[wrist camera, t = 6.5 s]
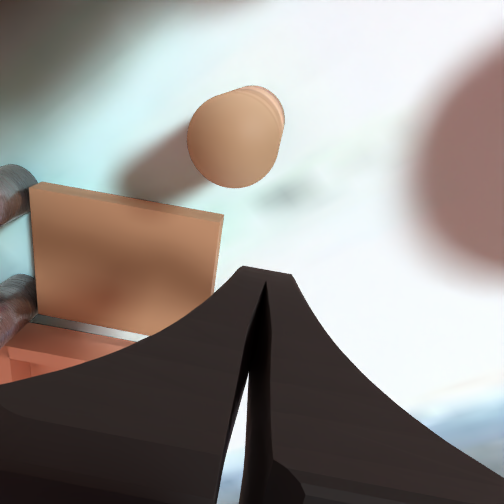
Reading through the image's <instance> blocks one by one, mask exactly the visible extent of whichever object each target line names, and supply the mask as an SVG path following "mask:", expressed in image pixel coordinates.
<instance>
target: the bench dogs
mask: <svg viewBox="0 0 504 504" xmlns="http://www.w3.org/2000/svg"><path fill="white" fill-rule="evenodd" d="M36 184H38V182H37V180H36V179H35V177H34V176H33V175H32V174H31V173H30V172H29V171H28V170H26V169H25V168H23V167H21V166H18V165H13V164H8V165H4V166H1V167H0V227H1V226H3V225H4V224H6V223H8V222H10V221H12V220H14V219H16V218H18V217H20V216H21V215H23V214H25V213H27V212H29V211H31V210H30V196H29V187H31V186H33V185H36ZM37 314H38V304H37V291H36V279H35V278H33V277H31V276H29V275H25V274H17V275H14V276H12V277H10V278H9V279H7V280H6V281H5V282H3V283H2V284H0V349H1V348H2V347H3V346H4V345H5V344H6V343H7V342H8V341H9V340H11V339H12V338H13V337H14V336H15V335H16V334H17V333H18V332H19V331H20V330H21V329H22V328H23V327H24V326H25V325H26V324H28V323H29V322H30V321H31V320H32V319H33V318H34V317H35V316H36V315H37Z"/></svg>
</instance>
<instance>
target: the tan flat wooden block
mask: <svg viewBox="0 0 504 504" xmlns="http://www.w3.org/2000/svg"><path fill="white" fill-rule="evenodd" d="M29 196H30V210H31V223H32V237H33V250H34V264H35V277H36V291H37V304H38V314H41V315H46V316H51V317H56V318H61V319H67V320H72V321H77V322H82V323H87V324H92V325H97V326H103V327H108V328H113V329H118V330H123V331H128V332H134V333H139V334H144V335H149V336H151V335H154V334H156V333H158V332H160V331H161V330H163V329H165V328H166V327H168V326H170V325H171V324H173V323H175V322H176V321H178V320H179V319H181V318H182V317H184V316H185V315H187V314H188V313H189V312H191V311H192V310H193V309H195V308H196V307H197V306H199V305H200V304H201V303H203V302H204V301H205V300H207V299H208V298H209V297H210V296H211V295H212V294H213V293H214V286H215V278H216V271H217V263H218V256H219V249H220V241H221V234H222V226H223V219H224V215H223V214H217V213H212V212H206V211H201V210H195V209H190V208H184V207H179V206H173V205H168V204H162V203H157V202H151V201H146V200H140V199H135V198H129V197H124V196H118V195H113V194H107V193H102V192H96V191H91V190H85V189H80V188H74V187H69V186H63V185H58V184H52V183H47V182H40V183H38V184H36V185H33V186H31V187H29Z"/></svg>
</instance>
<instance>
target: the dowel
mask: <svg viewBox="0 0 504 504" xmlns="http://www.w3.org/2000/svg"><path fill="white" fill-rule="evenodd" d="M284 123H285V116H284V111H283V107H282V105H281V103H280V101H279V100H278V98H277V97H276V96H275V95H274V94H273V93H272V92H270V91H269V90H267V89H265V88H263V87H259V86H245V87H242V88H239V89H236V90H233V91H230V92H227V93H224V94H221V95H218V96H215V97H213V98H211V99H209V100H207V101H206V102H204V103H203V104H202V105H201V106H200V107H199V108H198V109H197V111H196V112H195V113H194V115H193V117H192V119H191V121H190V124H189V127H188V133H187V145H188V151H189V154H190V157H191V160H192V162H193V163H194V165H195V167H196V168H197V170H198V171H199V172H200V173H201V174H202V175H203V176H204V177H205V178H207V179H208V180H209V181H211V182H213V183H215V184H217V185H220V186H223V187H227V188H242V187H246V186H250V185H252V184H254V183H256V182H258V181H259V180H261V179H262V178H263V177H265V175H266V174H267V173H268V172H269V171H270V170H271V168H272V167H273V165H274V163H275V160H276V158H277V154H278V150H279V146H280V142H281V137H282V133H283V129H284Z"/></svg>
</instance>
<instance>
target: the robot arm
mask: <svg viewBox="0 0 504 504" xmlns="http://www.w3.org/2000/svg"><path fill="white" fill-rule="evenodd" d="M248 373H249V382H248V402H247V423H246V444H245V459H244V470H243V478H242V485H241V492H240V499H239V504H504V478H503V477H501V476H500V475H498V474H497V473H495V472H493V471H492V470H490V469H489V468H487V467H486V466H484V465H482V464H481V463H479V462H478V461H476V460H475V459H473V458H471V457H470V456H468V455H467V454H465V453H464V452H462V451H460V450H459V449H457V448H456V447H454V446H453V445H451V444H449V443H448V442H447V441H445V440H444V439H442V438H441V437H439V436H438V435H437V434H435V433H434V432H433V431H431V430H430V429H429V428H427V427H426V426H424V425H423V424H422V423H420V422H419V421H418V420H416V419H415V418H414V417H412V416H411V415H410V414H409V413H407V412H406V411H405V410H403V409H402V408H401V407H400V406H398V405H397V404H396V403H395V402H394V401H392V400H391V399H390V398H389V397H388V396H387V395H386V394H384V393H383V392H382V391H381V390H380V389H379V388H378V387H377V386H375V385H374V384H373V383H372V382H371V381H370V380H369V379H368V378H367V377H366V376H365V375H364V374H363V373H362V372H361V371H360V370H359V369H358V368H357V367H356V366H355V365H354V364H353V363H352V362H351V361H350V360H349V359H348V358H347V357H346V355H345V354H344V353H343V352H342V351H341V350H340V349H339V348H338V346H337V345H336V344H335V343H334V342H333V340H332V339H331V338H330V336H329V335H328V334H327V332H326V331H325V330H324V328H323V327H322V325H321V324H320V322H319V321H318V319H317V318H316V316H315V315H314V313H313V312H312V310H311V308H310V307H309V305H308V303H307V302H306V300H305V298H304V296H303V295H302V293H301V291H300V289H299V287H298V285H297V283H296V281H295V279H294V277H293V276H292V274H286V273H281V272H275V271H270V270H264V269H258V268H253V267H247V266H242V267H240V268H239V269H237V271H236V272H235V273H234V274H233V275H232V276H231V278H230V279H229V280H228V281H227V282H226V283H225V284H224V285H222V286H221V287H220V288H219V289H218V290H217V291H216V292H215V293H214V294H212V295H211V296H210V297H209V298H208V299H207V300H205V301H204V302H203V303H201V304H200V305H199V306H197V307H196V308H195V309H193V310H192V311H191V312H189V313H188V314H187V315H185V316H184V317H182V318H181V319H179V320H178V321H176V322H175V323H173V324H171V325H170V326H168V327H166V328H165V329H163V330H161V331H160V332H158V333H156V334H154V335H151V336H149V337H147V338H145V339H143V340H140V341H138V342H136V343H134V344H132V345H129V346H127V347H125V348H123V349H121V350H118V351H115V352H113V353H110V354H107V355H105V356H102V357H99V358H96V359H93V360H90V361H87V362H84V363H81V364H78V365H75V366H72V367H68V368H65V369H62V370H58V371H54V372H50V373H46V374H42V375H38V376H34V377H30V378H26V379H22V380H18V381H14V382H10V383H5V384H0V504H216V503H217V498H218V492H219V487H220V481H221V476H222V470H223V466H224V461H225V457H226V453H227V449H228V445H229V442H230V438H231V434H232V431H233V427H234V424H235V420H236V416H237V413H238V409H239V406H240V402H241V398H242V395H243V391H244V387H245V384H246V380H247V377H248Z"/></svg>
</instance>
